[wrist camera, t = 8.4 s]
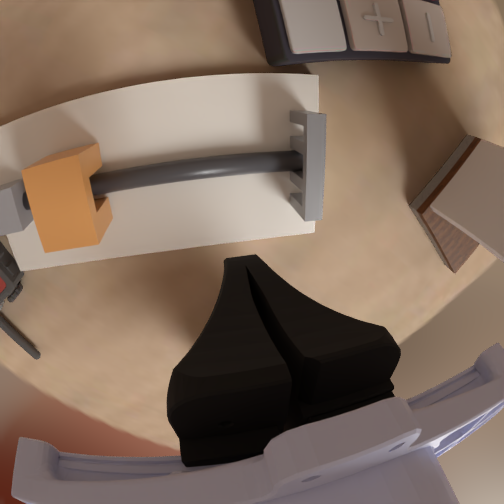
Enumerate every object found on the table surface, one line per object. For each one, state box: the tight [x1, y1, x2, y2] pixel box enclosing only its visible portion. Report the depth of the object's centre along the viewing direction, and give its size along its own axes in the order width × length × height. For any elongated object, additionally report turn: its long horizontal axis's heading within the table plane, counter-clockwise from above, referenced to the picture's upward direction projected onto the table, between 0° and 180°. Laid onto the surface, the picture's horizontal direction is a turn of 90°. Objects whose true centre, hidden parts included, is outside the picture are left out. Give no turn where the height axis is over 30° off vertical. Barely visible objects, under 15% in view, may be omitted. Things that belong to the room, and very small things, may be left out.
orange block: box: [21, 143, 113, 253], centre depth 16 cm, size 5×4×4 cm
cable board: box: [0, 73, 326, 271], centre depth 17 cm, size 12×25×4 cm, turn 91°
